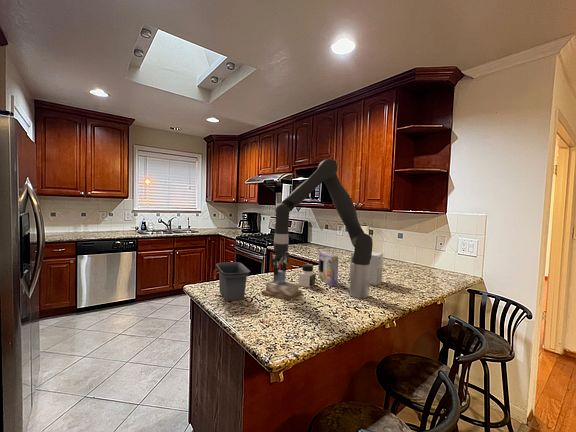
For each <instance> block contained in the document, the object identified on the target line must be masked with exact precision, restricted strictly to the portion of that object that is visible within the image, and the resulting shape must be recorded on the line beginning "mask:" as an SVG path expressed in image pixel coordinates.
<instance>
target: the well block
mask: <svg viewBox="0 0 576 432" xmlns="http://www.w3.org/2000/svg"><path fill="white" fill-rule="evenodd" d="M273 282H274V279H272V280H270V281H267V282H266V283H265V284H266V286H265V289H263V290H262V291H261V295H264V296H268V297H273V298H277V299H281V300H283V301H289V302H290V301H291V300H293V299H294V298H296V297H298V296H300V295H302V293H303V290H302V289H299V288H300V287H299V286H300V285H299V283H297V282H296V283H295V282H291V281H286V280H285V286H284V285H279V284H274V283H273Z"/></svg>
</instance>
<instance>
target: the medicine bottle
mask: <svg viewBox="0 0 576 432" xmlns="http://www.w3.org/2000/svg"><path fill="white" fill-rule="evenodd" d="M301 270H302V272H299V273H298V284H299V286H301V287H305V288H309V289H310V288H312V287H313V286H316V277H317V276H316V274H317V273H316V272H314V266H313V264H309V263H304V264H303V265H302V269H301Z"/></svg>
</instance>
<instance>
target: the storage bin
mask: <svg viewBox="0 0 576 432" xmlns="http://www.w3.org/2000/svg"><path fill="white" fill-rule="evenodd" d="M215 266H216V269H214V271H213V279H214V280H216V279H217V275H218V278H219V279H218V280H219V281H218V282H219V283H218V284H219V291H220V292H221V294H222V296H223V297H224V299H225V301H227V302H234V301H235V302H237V301H243V300H244V299H245V294H246V285H247V278H248V277H249V276H250V272H251V270H249V268H247V266H245V265H244V264H243V263H242V262H238V261H230V262H228V261H227V262H219V263H218V262H217V263H216V264H215ZM217 271H218V272H217Z"/></svg>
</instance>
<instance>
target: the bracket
mask: <svg viewBox="0 0 576 432" xmlns="http://www.w3.org/2000/svg"><path fill="white" fill-rule="evenodd" d="M286 272H287V270H286V271H282V269H278V275H274V274H273V280H274V282H273V283H274V284H279V285H284V286H285V281H286V274H287V273H286Z"/></svg>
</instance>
